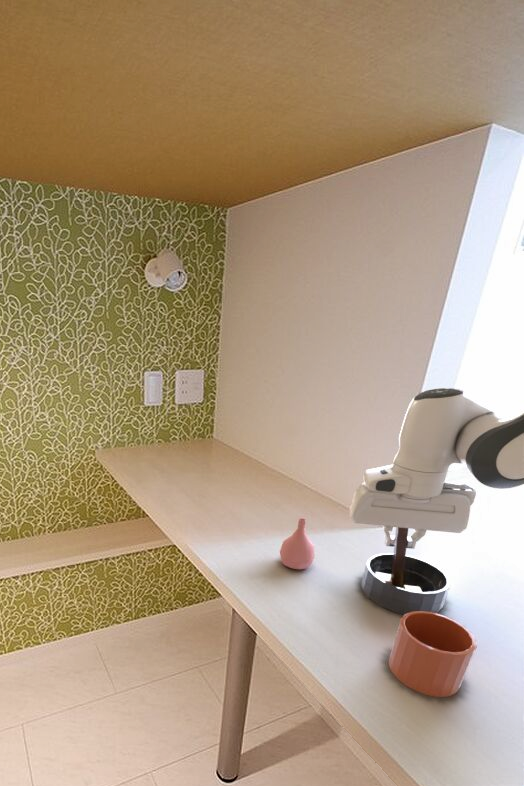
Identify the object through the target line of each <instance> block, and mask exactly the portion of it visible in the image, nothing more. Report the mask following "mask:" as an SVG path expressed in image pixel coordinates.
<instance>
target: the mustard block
mask: <svg viewBox="0 0 524 786" xmlns="http://www.w3.org/2000/svg"><path fill="white" fill-rule="evenodd" d="M403 589H407V590H410V591H418V592H422V590H421V588H420V587H417V586H409V585H404V586H403Z"/></svg>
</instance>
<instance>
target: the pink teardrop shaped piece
mask: <svg viewBox="0 0 524 786" xmlns="http://www.w3.org/2000/svg"><path fill="white" fill-rule="evenodd" d="M306 523H307V519H305V518H303V517H302V518H301V517H300V518H298V522H297V527H296V530H295V531H294V532H293V533H292V535H290V536H289V537H287V538H285V539H284V540H283V541H282V544H281V546H280V549H279V556H280V560H281V563H282V564H283V565H284V566H285V567H288V568H290V569H292V570H306V569H308V568H309V567H310V566H311V565H312V563H313V561H314V559H315V555H316V554H315V551H316V550H315V545H314V544H313V543H312V541H311V540H310V539H309V537H308V535H307V533H306V530H305V529H306Z"/></svg>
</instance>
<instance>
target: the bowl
mask: <svg viewBox="0 0 524 786" xmlns="http://www.w3.org/2000/svg"><path fill="white" fill-rule="evenodd" d="M393 554H394V552H388V553H378V554H374V555H372V556H371V557H369V558H367V560H366V564H365V567H364V572H363V576H362V580H361V584H360V585H361V589H362V592H363V593H364V594H365V596H366V597H367V598H368V599H369V600H370V601H373V602H374V603H375V604H376V605H378V606H380V607H382V608H384V609H387V610H389V611H391V612H395V613H398V614H400V615H401V614H402V615H405V614H407V613H410V612H413V611H426V612H433V613H437V614H439V612H440V611H441V610H442V609H443V608H444V605H445V602H446V599H447V596H448V594H449V593H448V592H449V591H450V587H451V579H450V578H449V576H448V574H447V573H446V572H445V571H444V570H442V569H441V568H440V567H438V566H437V565H435V564H433V563H431V562H429V561H428V560H425V559H423V558H422V559H421V558H419V557H417V556H413V555H408V554H406V555H405V564H404V573H403V582H402V588H399V587H396V586H394V585H392V584H389V583H387V582H385V581H384V580H382V579H380V578H379V577H377V576H376V575H375V572H381V573H386V574H391V575H392V564H393ZM404 585H409V586H417V587H420V588H421V590H422V592H418V591H410V590H407V589H403V586H404Z"/></svg>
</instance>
